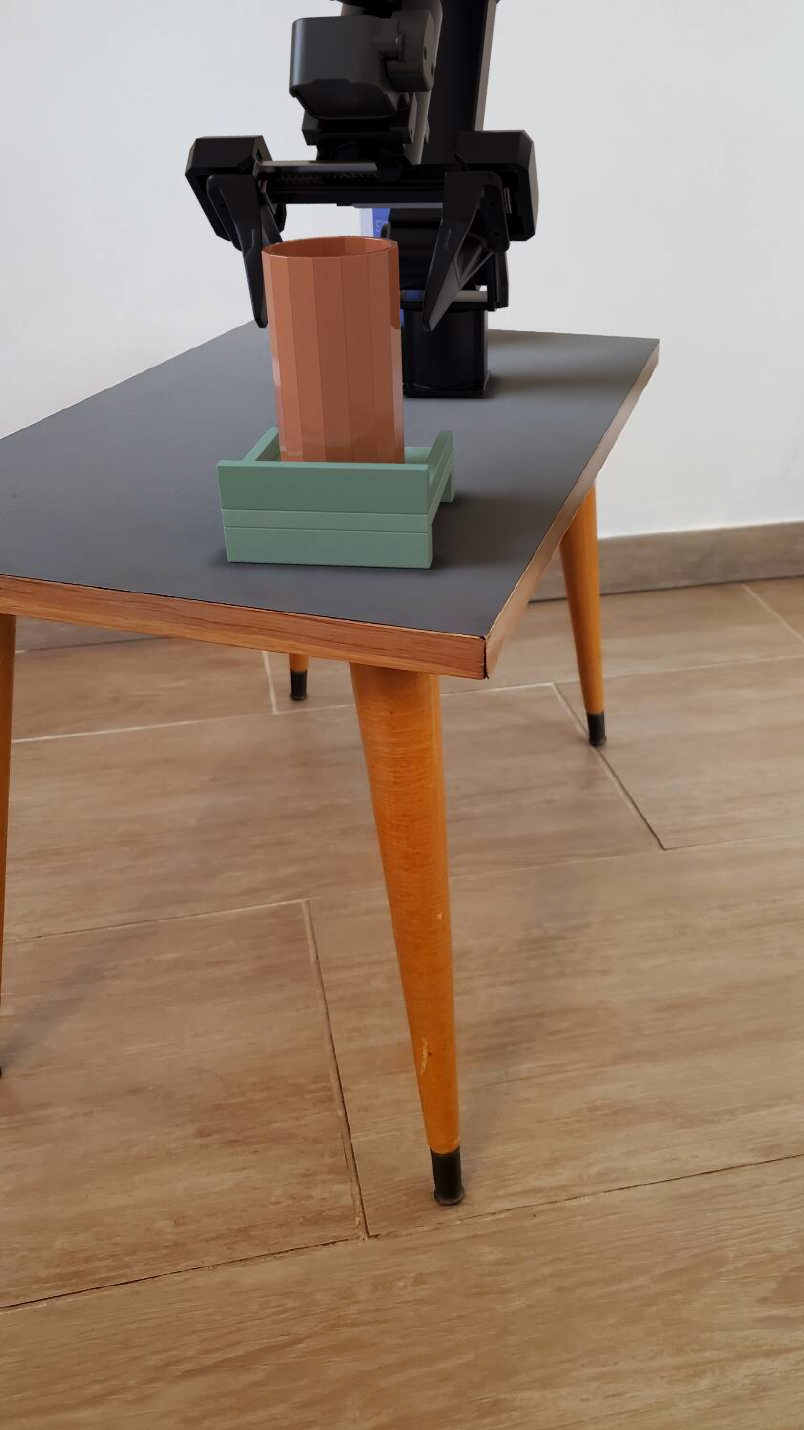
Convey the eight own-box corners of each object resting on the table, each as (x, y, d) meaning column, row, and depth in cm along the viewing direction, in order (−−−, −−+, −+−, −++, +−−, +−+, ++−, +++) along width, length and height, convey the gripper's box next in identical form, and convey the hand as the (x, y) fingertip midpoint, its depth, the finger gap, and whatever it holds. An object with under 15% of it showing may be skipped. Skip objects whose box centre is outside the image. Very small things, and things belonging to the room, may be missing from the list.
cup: (316, 452, 66) (300, 234, 60) (423, 463, 64) (417, 237, 57) (261, 490, 61) (237, 255, 54) (376, 503, 58) (365, 259, 52)
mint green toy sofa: (454, 495, 68) (453, 407, 65) (429, 569, 58) (427, 469, 55) (278, 491, 69) (270, 404, 66) (227, 562, 60) (215, 465, 57)
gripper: (172, -41, 57) (115, 226, 53) (539, -62, 53) (501, 225, 49) (242, 122, 67) (197, 353, 64) (551, 115, 63) (521, 360, 60)
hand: (341, 325), depth 59 cm, fingers open, 9 cm apart
